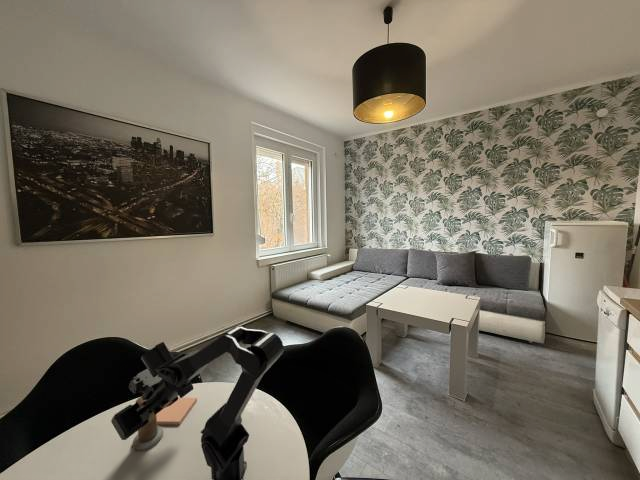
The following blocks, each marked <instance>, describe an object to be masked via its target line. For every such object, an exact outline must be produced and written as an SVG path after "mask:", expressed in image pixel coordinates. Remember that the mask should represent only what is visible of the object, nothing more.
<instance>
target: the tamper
mask: <svg viewBox="0 0 640 480" xmlns="http://www.w3.org/2000/svg"><path fill="white" fill-rule="evenodd" d="M144 401H146V400H143V399H142V397H141V396H140V397H138V398H137V399H136V401H135V403H138V404H139V406H140V407H141V408H142V405H141V404H142V403H143V402H144ZM145 406H146V405H145ZM145 406H144V407H145ZM146 412H148V410H147V411H146ZM148 420H149V422H148V423H147V424H146V425H144V426H143V427H142V428H140V429H139V430H138V431H137V434H136V436H134V438H133V440H132V447H133V448H132V449H133V450H135V451H137V452H141V451H145V450H148V449H150V448H153V447H154V446H156V445H157V444H158V443H159V442H160V440H162V438H163V436H164V428H163V426H161V425H157V417H156V415H155V414H154V412H152V413H151V414H150V415H149V418H148Z"/></svg>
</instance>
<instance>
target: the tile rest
mask: <svg viewBox="0 0 640 480" xmlns="http://www.w3.org/2000/svg"><path fill="white" fill-rule="evenodd" d="M197 402H198V397H182V398H180V397H178V400H177V401H176V402H174V403H173V404H172V405H170V406H168V407H165V408H164V409H163V410H161V411H160V412H159V413H157V414H156V417H157V426H161V425H163V426H165V425H170V426H171V425H175V426H176V425H177V426H178V425H181V424H182V422H184V419H185V418H186V417H187V415H188V414H189V412H190V411H191V410H192V408H193V407H194V406H195V405H196V403H197Z"/></svg>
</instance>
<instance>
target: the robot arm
mask: <svg viewBox="0 0 640 480" xmlns="http://www.w3.org/2000/svg"><path fill="white" fill-rule="evenodd" d="M241 344H243V345H249V346H248V347H246V348H244V347H243V346H240V345H241ZM284 352H285V345H284V344H283V341H282V338H280V337H279V335H277V334H276V333H274V332H268V331H265V330H263V329H251V328H245V327H243V326H241V325H237V326H233V327H232V328H230V329H228V330H226V331H225V332H223V333H221V335H220V336H219V337H218V338H216V339H214V340H212V342H209V344H207V345H206V346H204V347H203V348H201V349H195V350H193V351H191V352H189V353H187V352H183V353H181V354H178V355H177V356H175V357H174V356H173V354H172V353H171V351H170V350H169V349H168V347H167V345H166V344H165V342H164V341H162V342H159V343H157V344H156V345H154V347H153V348H151V349H149V350H148V351H147V352H146V353H144V354H142V355H141V357H140V359H141V361H142V362H143V363H144V365H145V367H146V369H144V370H142V371H140V372H139V373H137V374H136V376H134V377H132V379H131V380H130V382H129V385H128V389H129V390H130V391H131V392H132V394H134V395H136V394H137V393H140V394H141V393H142V395H140V397H142V399H143V400H146V401H144V402H143V403H142V404H141V405H142V408H141V407H140V406H139V404H138V403H136V402H135V403H134V404H129V405H126V407H124V408H122V409H120V410H119V411H118V412H116V413H115V414H114V415H113V416H112V417H111V420H110V422H111V424H112V426H113V428H114V429H115V431H116V433H117V434H118V436H119V438H120V439H121V441H122V440H123V441H126V440H128V439H129V438H130V437H131V436H133V435H134V434H135V433H138V430H139V429H140V428H142V427H143V426H144V425H146V424H147V423H148V422H149V420H148V418H149V415H150V414H151V413H152V412H154V414H155V415H156V414H157V413H159V412H160V411H161V410H163V409H164V408H165V407H168V406H170V405H172V404H173V403H174V402H176V401H177V400H178V398H185V397H186V396H187V394H189V393H190V392H191V391H193V390H194V385H193V383H192V381H191V380H192V379H193V378H196V376H198V375H199V374H200V373H202V372H204V370H205V369H206V367H208V365H209V364H210V363H211V362H213V361H215V360H217V359H218V358H220V357H221V356H222V355H224V354H225V353H228V354H230V355H231V358H232V359H233V360H234V362H235V363H236V364H237V365H239V366H240V369H241V373H240V376H239V378H238V380H237V382H236V383H235V385H234V387H233V390H232V391H231V393H230V395H229V397H228V398H227V401H226V402H225V403H223V405H221V406H220V407H219V408H218V410H216V411H215V412H214V413H212V415H211V416H210V417H209V418H208V419H207V420H206V422H205V424H204V428H203V429H202V430H201V431H200V434H202V435H201V437H200V443H201V444H200V446H201V450H202V453H203V456H204V460H205V462H206V465H207V467H209V468H211V469H210V471H211V480H241V479H242V480H243V478H244V475H245V471H246V469H247V461H245V454H244V452H245V450H244V445H245V444H247V442H248V441H249V438H250V434H249V432H248V431H247V429H246V428H245V427H244V425H243V424H242V422H243V419H242V414H243V412H244V410H245V408H246V407H247V405H248V404H249V401H250V400H251V398H252V396H253V394H254V392H255V391H256V389H257V387H258V385H259V383H260V381H261V380H262V378H263V377H264V375H265V373H266V372H267V371H268V370H269V369H270V368H271V367H272V366H273V364H274V363H276V361H277V360H279V358H280V357H281V355H283V353H284ZM145 405H146V406H145ZM144 406H145V407H144ZM147 410H148V412H146V411H147ZM242 477H243V478H242Z"/></svg>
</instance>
